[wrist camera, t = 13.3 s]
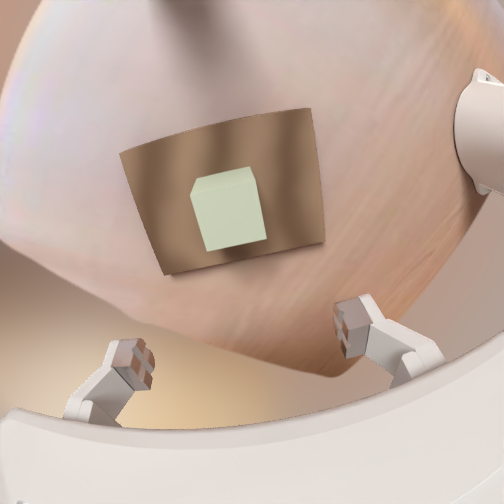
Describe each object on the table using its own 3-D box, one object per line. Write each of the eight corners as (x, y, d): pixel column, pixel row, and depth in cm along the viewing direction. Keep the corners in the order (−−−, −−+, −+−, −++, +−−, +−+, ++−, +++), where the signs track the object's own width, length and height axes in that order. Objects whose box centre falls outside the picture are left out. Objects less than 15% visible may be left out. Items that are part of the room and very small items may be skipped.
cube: (249, 166, 24) (255, 180, 20) (259, 215, 26) (266, 238, 22) (196, 178, 24) (189, 195, 20) (209, 226, 27) (207, 251, 22)
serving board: (305, 108, 23) (310, 108, 21) (321, 235, 30) (325, 241, 29) (124, 150, 23) (119, 153, 22) (166, 268, 30) (164, 275, 29)
